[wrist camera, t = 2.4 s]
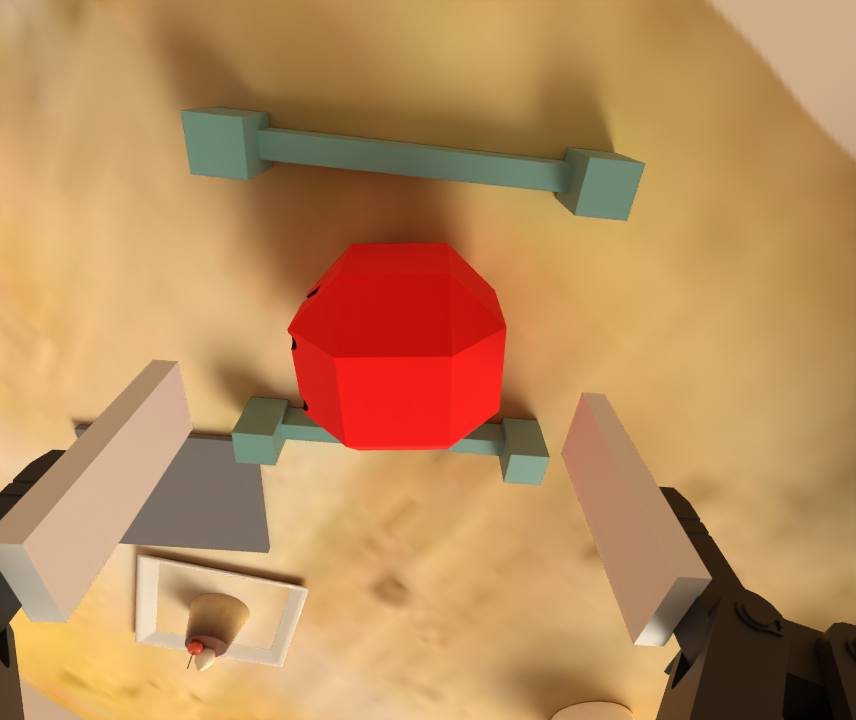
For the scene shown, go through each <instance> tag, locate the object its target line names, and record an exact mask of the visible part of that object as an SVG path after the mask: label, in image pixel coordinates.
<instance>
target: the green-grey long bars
mask: <svg viewBox="0 0 856 720" xmlns="http://www.w3.org/2000/svg"><path fill="white" fill-rule="evenodd" d="M181 114H182V120H183V127H184V133H185V140H186V146H187V152H188V159H189V165H190V172H191V174H194V175H203V176H212V177H222V178H231V179H240V180H249V179H251V178H253V177H255V176H257V175H259V174H261V173H263V172H264V171H266V170H268V169H270V168H272V161H279V162H288V163H297V164H306V165H315V166H325V167H334V168H343V169H352V170H361V171H370V172H379V173H388V174H397V175H407V176H416V177H425V178H434V179H443V180H452V181H461V182H470V183H479V184H489V185H498V186H507V187H516V188H525V189H534V190H543V191H552V192H557V194H556V199H557V200H558V201H559V202H560V203H561V204H563V205H564V206H565V207H566V208H567V209H568V210H569V211H570V212H571V213H573V214H574V215H576V216H585V217H595V218H604V219H613V220H623V221H627V219H628V216H629V213H630V209H631V206H632V203H633V200H634V197H635V194H636V191H637V188H638V185H639V182H640V179H641V176H642V173H643V169H644V166H645V163H642V162H639V161H637V160H634V159H631V158H628V157H626V156H623V155H620V154H617V153H613V152H604V151H596V150H587V149H578V148H569V147H568V148H567V152H566V156H565V160H555V159H547V158H538V157H529V156H520V155H511V154H503V153H494V152H485V151H476V150H467V149H459V148H450V147H441V146H432V145H423V144H415V143H406V142H397V141H388V140H379V139H370V138H362V137H353V136H344V135H335V134H326V133H318V132H309V131H300V130H291V129H282V128H274V127H270V126H269V113H266V112H257V111H248V110H240V109H231V108H222V107H211V108H201V109H192V110H183V111H181ZM231 433H232V440H233V446H234V453H235V459H236V463H250V464H263V465H276V463H277V460H278V458H279V455H280V453H281V450H282V448H283V445H284V443H285V440H286V439H292V440H305V441H318V442H331V443H341V442H340V441H339V440H337V439H336V438H335V437H333V436H332V435H331V434H330V433H328V432H327V431H326V430H325V429H323V428H322V427H321V426H320V425H318V424H317V423H316V422H315V421H313V420H312V419H311V418H310V417H308V416H307V415H306V414H305V413H303V408H293V407H289V401H288V400H283V399H271V398H259V397H251V399H250V401H249V402H248V404H247V406H246V408H245V409H244V411H243V413H242V415H241V417H240V418H239V420H238V422H237V424H236V425H235V427H234V429H233V431H232V432H231ZM433 451H446V452H459V453H472V454H484V455H497V456H499V460H500V465H501V470H502V475H503V481H504V483H517V484H530V485H541V483H542V480H543V477H544V474H545V471H546V468H547V465H548V462H549V458H550V457H549V454H548V451H547V447H546V444H545V441H544V438H543V435H542V432H541V429H540V426H539V423H538V420H526V419H514V418H503V420H502V424H489V423H482V424H481V425H480V426H479V427H477V428H476V429H475V430H473V431H472V432H471V433H469V434H468V435H467V436H465V437H464V438H463V439H461V440H460V441H459V442H457V443H456V444H455V445H453V446H452V447H451V448H449V449H448V450H433Z"/></svg>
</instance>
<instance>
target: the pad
mask: <svg viewBox="0 0 856 720" xmlns="http://www.w3.org/2000/svg"><path fill="white" fill-rule="evenodd" d="M89 427H90V426H89V425H78V426H77V427H76V428H75V432H76V435H77V437H78V438H79V437H80V436H81V435H82V434H83V433H84V432H85V431H86V430H87V429H88V428H89ZM119 543H123V544H138V545H154V546H169V547H184V548H200V549H215V550H231V551H246V552H262V553H268V552H269V549H270V545H269V537H268V529H267V521H266V512H265V504H264V496H263V487H262V479H261V471H260V464H250V463H236V459H235V453H234V446H233V440H232V437H231V436H218V435H205V434H192V433H190V434H189V435H188V437H187V438H186V440H185V442H184V443H183V445H182V446H181V448H180V449H179V451H178V452H177V454H176V455H175V457H174V458H173V460H172V462H171V463H170V465H169V466H168V468H167V469H166V471H165V472H164V474H163V475H162V477H161V479H160V480H159V482H158V483H157V485H156V486H155V488H154V489H153V491H152V492H151V494H150V495H149V497H148V499H147V500H146V502H145V503H144V505H143V506H142V508H141V509H140V511H139V512H138V514H137V515H136V517H135V519H134V520H133V522H132V523H131V525H130V526H129V528H128V529H127V531H126V532H125V534H124V536H123V537H122V539H121V540H120V542H119Z"/></svg>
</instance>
